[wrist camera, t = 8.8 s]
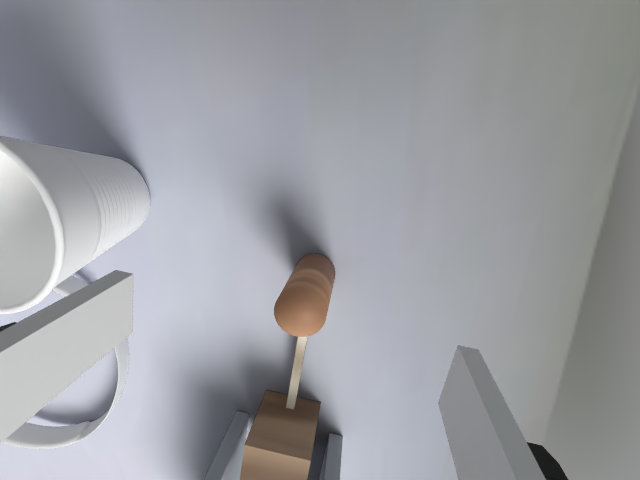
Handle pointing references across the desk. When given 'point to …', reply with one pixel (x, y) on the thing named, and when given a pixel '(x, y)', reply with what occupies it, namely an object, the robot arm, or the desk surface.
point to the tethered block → (289, 410)
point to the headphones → (67, 435)
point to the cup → (60, 215)
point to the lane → (230, 453)
